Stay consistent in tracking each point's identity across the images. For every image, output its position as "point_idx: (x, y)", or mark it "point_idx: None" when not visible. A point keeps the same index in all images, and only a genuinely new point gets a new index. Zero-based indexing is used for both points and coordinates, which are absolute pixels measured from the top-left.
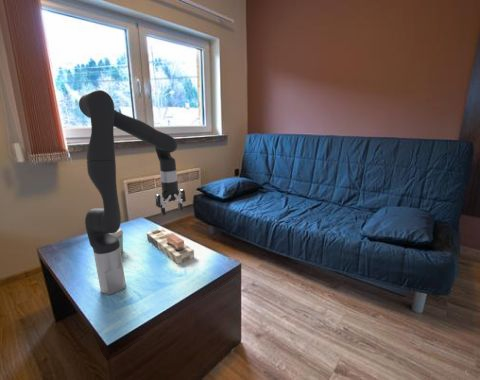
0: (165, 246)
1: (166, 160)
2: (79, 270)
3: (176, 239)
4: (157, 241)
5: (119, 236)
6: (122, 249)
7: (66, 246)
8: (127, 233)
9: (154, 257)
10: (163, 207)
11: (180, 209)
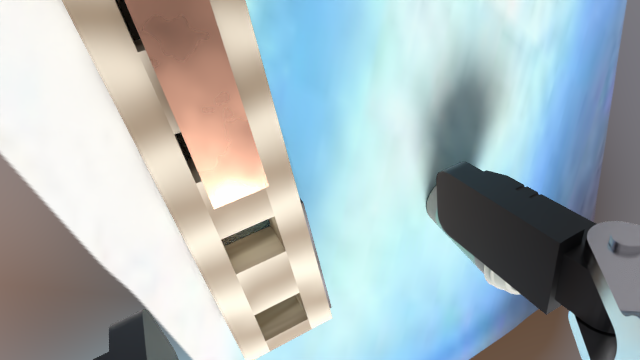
0: (265, 106)
1: None
2: (571, 91)
3: (196, 58)
4: (299, 199)
5: None
6: (436, 198)
7: None
8: (377, 351)
9: (320, 72)
10: (604, 233)
11: (144, 333)
